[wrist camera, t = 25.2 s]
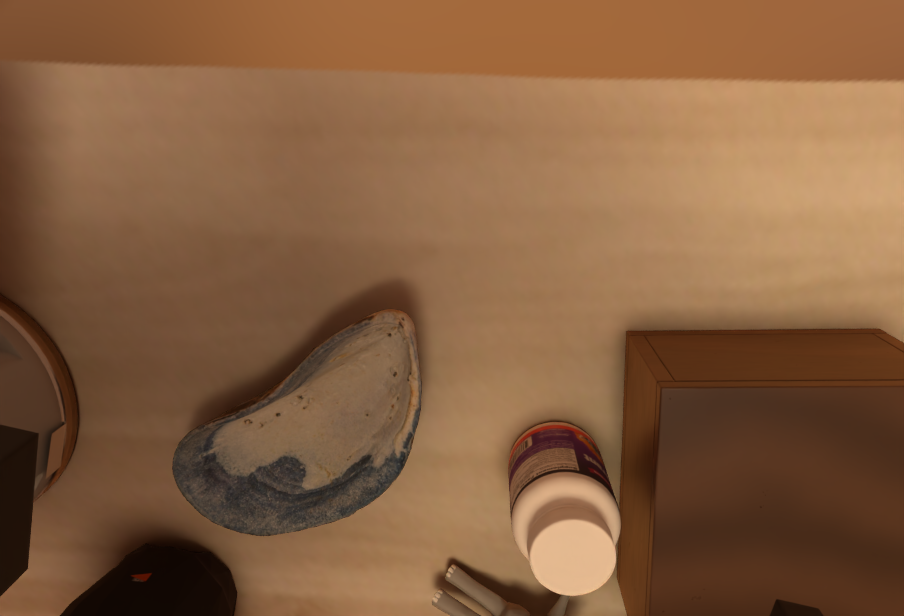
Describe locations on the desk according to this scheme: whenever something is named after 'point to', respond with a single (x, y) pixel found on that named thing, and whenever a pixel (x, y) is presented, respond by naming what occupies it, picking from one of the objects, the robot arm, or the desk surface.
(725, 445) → the cabinet
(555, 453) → the pill bottle
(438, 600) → the elephant figurine
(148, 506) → the desk surface
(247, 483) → the seashell
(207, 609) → the portable speaker
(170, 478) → the desk surface
